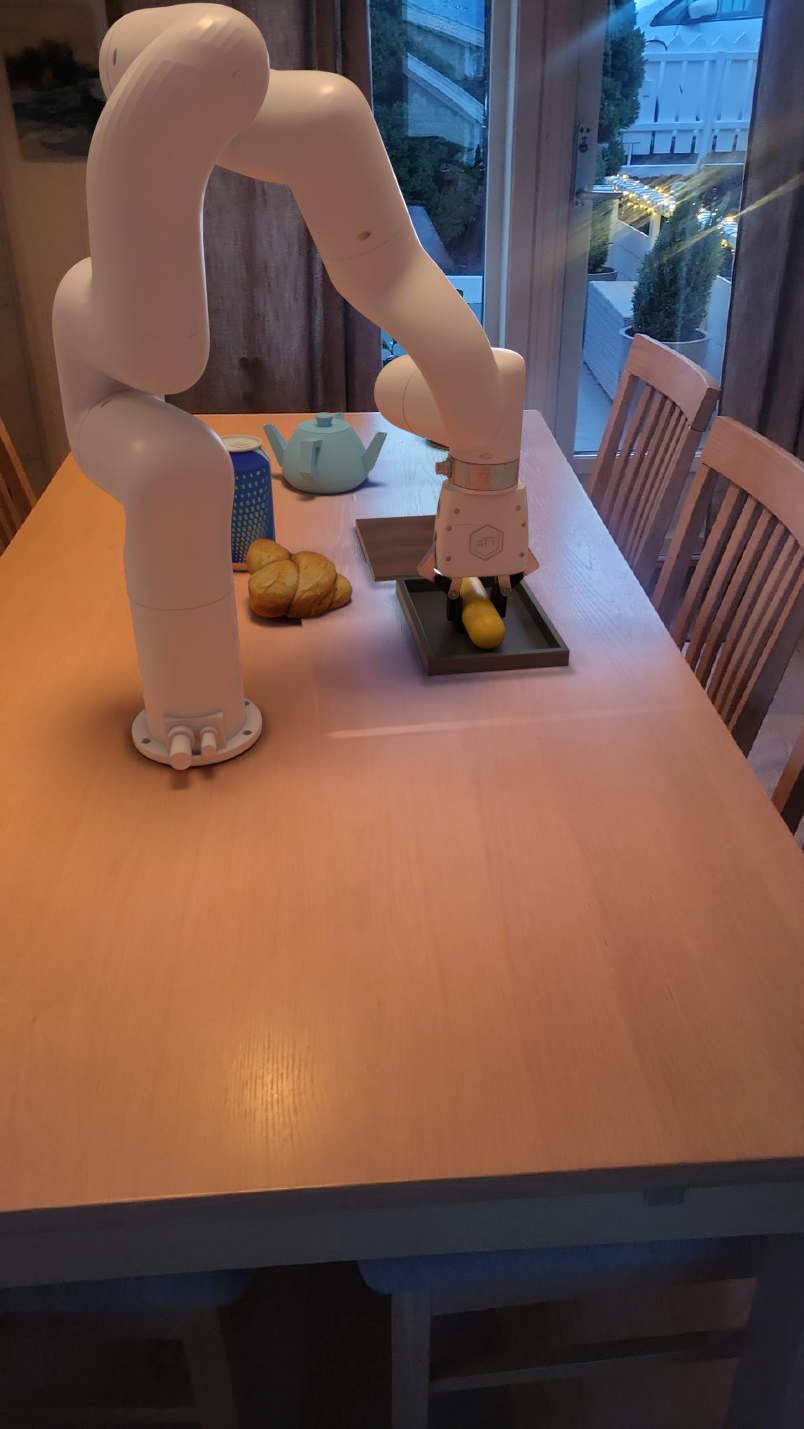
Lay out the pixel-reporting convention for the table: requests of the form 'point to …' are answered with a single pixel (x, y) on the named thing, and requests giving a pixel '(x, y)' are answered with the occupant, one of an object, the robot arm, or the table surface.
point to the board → (395, 544)
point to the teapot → (324, 454)
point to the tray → (454, 651)
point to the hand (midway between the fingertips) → (475, 622)
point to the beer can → (249, 496)
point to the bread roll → (292, 581)
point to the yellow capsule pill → (480, 615)
